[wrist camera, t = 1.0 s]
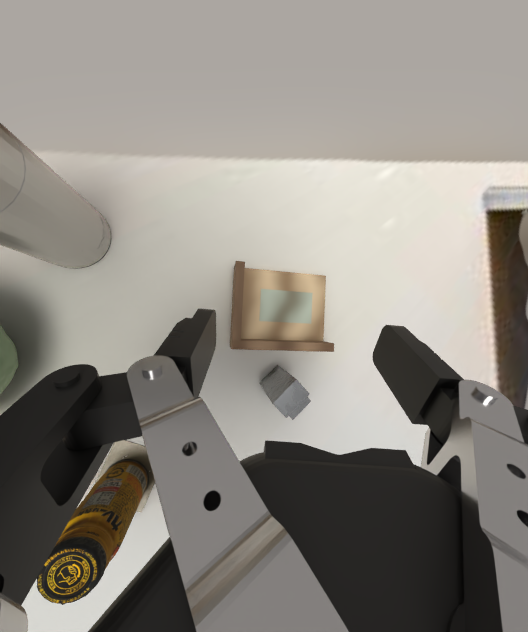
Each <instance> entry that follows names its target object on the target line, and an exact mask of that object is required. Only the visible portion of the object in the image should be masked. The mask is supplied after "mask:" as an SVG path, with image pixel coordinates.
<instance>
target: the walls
mask: <svg viewBox="0 0 528 632" xmlns="http://www.w3.org/2000/svg"><path fill="white" fill-rule="evenodd" d="M244 268H245V262H241V261H236V263H235V267H234V285H233V303H232V322H231V341H230V347H231V349H248V350H288V351H327V352H334V343H329V342H323V341H296V340H267V339H241V326H242V307H243V288H244Z"/></svg>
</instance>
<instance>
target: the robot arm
mask: <svg viewBox="0 0 528 632" xmlns="http://www.w3.org/2000/svg"><path fill="white" fill-rule="evenodd" d="M110 241H111V232H110V229H109V225H108V223H107V222H106V220H105V218H104V217H103V216H102V215H101V214H100V213H99V212H98V211H97V210H96V209H95V208H94V207H93V206H92V205H90V204H89V203H88V202H87V201H86V200H85V199H84V198H83V197H82V196H81V195H80V194H78V193H77V192H76V191H75V190H74V189H73V188H72V187H71V186H70V185H69V184H67V183H66V182H65V181H64V180H63V179H62V178H61V177H60V176H59V175H58V174H56V173H55V172H54V171H53V170H52V169H51V168H50V167H49V166H48V165H46V164H45V163H44V162H43V161H42V160H41V159H40V158H39V157H38V156H37V155H35V154H34V153H33V152H32V151H31V150H30V149H29V148H28V147H27V146H25V145H24V144H23V143H22V142H21V141H20V140H19V139H18V138H17V137H15V136H14V135H13V134H12V133H11V132H10V131H9V130H8V129H7V128H6V127H4V126H3V125H2V124H1V123H0V245H2V246H5V247H8V248H10V249H13V250H16V251H19V252H22V253H25V254H28V255H30V256H33V257H36V258H39V259H41V260H44V261H47V262H50V263H53V264H56V265H59V266H62V267H66V268H83V267H87V266H90V265H92V264H94V263H96V262H97V261H99V260H100V259H101V258H102V257H103V256H104V255H105V253H106V252H107V250H108V248H109V246H110ZM215 346H216V312H215V310H209V309H198V310H197V311H196V313H195V315H194V316H193V318H185V319H183V320H182V321H180V322H178V323H177V324H176V326H175V327H174V328H173V330H172V331H171V332H170V334H169V335H168V337H167V338H166V339H165V341H164V342H163V343H162V345H161V346H160V347H159V349H158V350H157V352H156V353H155V354H154V356H150V357H146V358H143V359H141V360H139V361H137V362H135V363H134V364H133V365H132V366H131V367H130V368H129V369H128V371H127V372H126V373H120V374H113V375H106V376H99V375H98V372H97V370H96V368H95V367H93V366H91V365H85V364H79V365H72V366H68V367H64V368H62V369H59V370H57V371H55V372H53V373H51V374H49V375H47V376H46V377H45V378H43V379H42V380H41V381H40V382H39V383H37V384H36V385H35V386H34V387H33V388H32V389H30V390H29V391H28V392H27V393H26V394H25V395H24V396H22V397H21V398H20V399H19V400H18V401H17V402H15V403H14V404H13V405H12V406H11V407H10V408H8V409H7V410H6V411H5V412H4V413H3V414H2V415H0V632H27V631H28V618H27V614H26V612H25V609H24V608H23V607H22V606H21V605H22V603H23V601H24V600H25V598H26V596H27V594H28V593H29V591H30V589H31V587H32V585H33V584H34V582H35V580H36V578H37V577H38V575H39V573H40V571H41V570H42V568H43V566H44V564H45V563H46V561H47V559H48V557H49V556H50V554H51V552H52V550H53V548H54V547H55V545H56V543H57V541H58V540H59V538H60V536H61V534H62V533H63V531H64V529H65V527H66V526H67V524H68V522H69V520H70V518H71V517H72V515H73V513H74V511H75V510H76V508H77V506H78V504H79V503H80V501H81V499H82V497H83V496H84V494H85V492H86V490H87V489H88V487H89V485H90V483H91V481H92V480H93V478H94V476H95V474H96V473H97V471H98V469H99V467H100V466H101V464H102V462H103V460H104V459H105V457H106V455H107V453H108V452H109V450H110V448H111V446H112V444H113V443H114V442H118V441H122V440H127V439H131V438H136V437H140V436H143V439H144V443H145V447H146V450H147V454H148V458H149V461H150V465H151V469H152V472H153V476H154V480H155V484H156V487H157V491H158V495H159V498H160V502H161V506H162V510H163V513H164V517H165V521H166V524H167V528H168V532H169V536H170V537H169V538H168V539H167V541H166V542H165V543H164V544H163V545H162V546H161V548H160V549H159V550H158V551H157V552H156V553H155V555H154V556H153V557H152V558H151V559H150V560H149V562H148V563H147V564H146V565H145V566H144V567H143V568H142V570H141V571H140V572H139V573H138V574H137V575H136V577H135V578H134V579H133V580H132V581H131V582H130V584H129V585H128V586H127V587H126V588H125V589H124V591H123V592H122V593H121V594H120V595H119V596H118V597H117V599H116V600H115V601H114V602H113V603H112V604H111V606H110V607H109V608H108V609H107V610H106V611H105V613H104V614H103V615H102V616H101V617H100V618H99V620H98V621H97V622H96V623H95V624H94V625H93V626H92V628H91V629H90V630H89V631H88V632H528V410H526V409H523V408H519V407H516V406H513V405H512V403H511V402H510V401H509V400H508V399H507V398H506V397H505V396H504V395H502V394H501V393H500V392H498V391H497V390H495V389H493V388H491V387H489V386H487V385H485V384H483V383H480V382H477V381H472V380H464V379H463V378H462V377H461V376H459V375H458V374H457V373H456V372H455V371H454V370H453V369H452V368H451V367H450V366H449V365H448V364H447V363H445V362H444V361H443V360H441V358H440V357H439V356H438V355H437V354H436V353H434V351H432V350H431V349H430V348H429V347H428V346H427V345H426V344H424V343H423V342H421V341H419V340H418V339H417V338H416V337H415V336H414V335H413V334H412V333H411V332H410V331H409V330H408V329H406V328H405V327H404V326H394V325H386V326H384V327H383V329H382V331H381V334H380V336H379V339H378V341H377V344H376V346H375V349H374V352H373V362H374V365H375V366H376V368H377V369H378V371H379V372H380V374H381V376H382V377H383V379H384V380H385V382H386V383H387V385H388V387H389V388H390V390H391V391H392V393H393V394H394V396H395V397H396V399H397V401H398V402H399V404H400V405H401V407H402V408H403V410H404V411H405V413H406V415H407V416H408V418H409V419H410V421H411V422H412V424H423V425H428V426H429V429H428V430H427V432H426V433H425V439H424V447H423V454H422V461H421V467H419V466H416V465H414V464H413V463H412V461H411V459H410V458H409V456H408V454H407V452H406V450H392V449H378V448H370V449H365V450H361V451H356V452H352V453H347V454H343V455H336V454H333V453H330V452H327V451H323V450H320V449H317V448H314V447H311V446H308V445H305V444H302V443H292V442H278V441H265V446H264V452H263V453H259V454H255V455H252V456H250V457H247V458H245V459H243V460H242V461H240V462H239V460H238V458H237V457H236V455H235V453H234V452H233V450H232V448H231V447H230V445H229V443H228V442H227V440H226V438H225V436H224V435H223V433H222V431H221V430H220V428H219V426H218V425H217V423H216V421H215V419H214V418H213V416H212V414H211V413H210V411H209V409H208V408H207V406H206V404H205V402H204V401H203V400H202V398H201V397H198V396H199V393H200V390H201V388H202V385H203V382H204V379H205V376H206V373H207V371H208V368H209V365H210V362H211V359H212V356H213V354H214V351H215Z"/></svg>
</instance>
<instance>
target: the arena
mask: <svg viewBox="0 0 528 632" xmlns="http://www.w3.org/2000/svg"><path fill="white" fill-rule="evenodd" d="M325 283H326V276H322V275H311V274H301V273H290V272H280V271H270V270H259V269H249V268H244V288H243V307H242V326H241V339H267V340H296V341H323V334H324V308H325ZM233 285H234V278H233ZM232 303H233V297H232ZM231 322H232V316H231ZM230 341H231V334H230Z"/></svg>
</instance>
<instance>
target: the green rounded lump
mask: <svg viewBox="0 0 528 632" xmlns="http://www.w3.org/2000/svg"><path fill="white" fill-rule="evenodd" d="M17 368H18V360H17V351H16V347H15V345H14V343H13V342H12V340H11V339H10V338H9V337H8V335H7V334H6V333H5V331H4V330H3V328H2V327H1V325H0V394H1V393H2V392H3V391H4V390H5V388H6V387H7V386H8V385H9V383H10V382H11V380H12V378H13V377H14V375H15V371H16V369H17Z"/></svg>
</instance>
